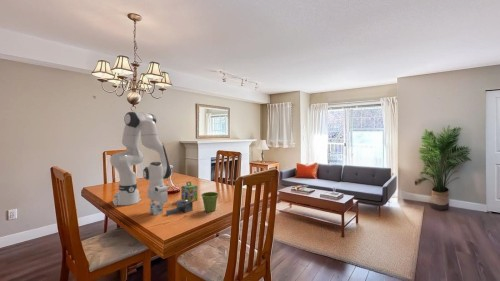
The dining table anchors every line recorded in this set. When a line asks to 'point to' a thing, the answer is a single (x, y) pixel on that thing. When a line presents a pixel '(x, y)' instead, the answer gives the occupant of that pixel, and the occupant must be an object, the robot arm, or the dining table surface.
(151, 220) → the dining table surface
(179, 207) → the coupler
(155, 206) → the lock block
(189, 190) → the green patterned lantern
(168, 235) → the dining table surface
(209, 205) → the plant pot
